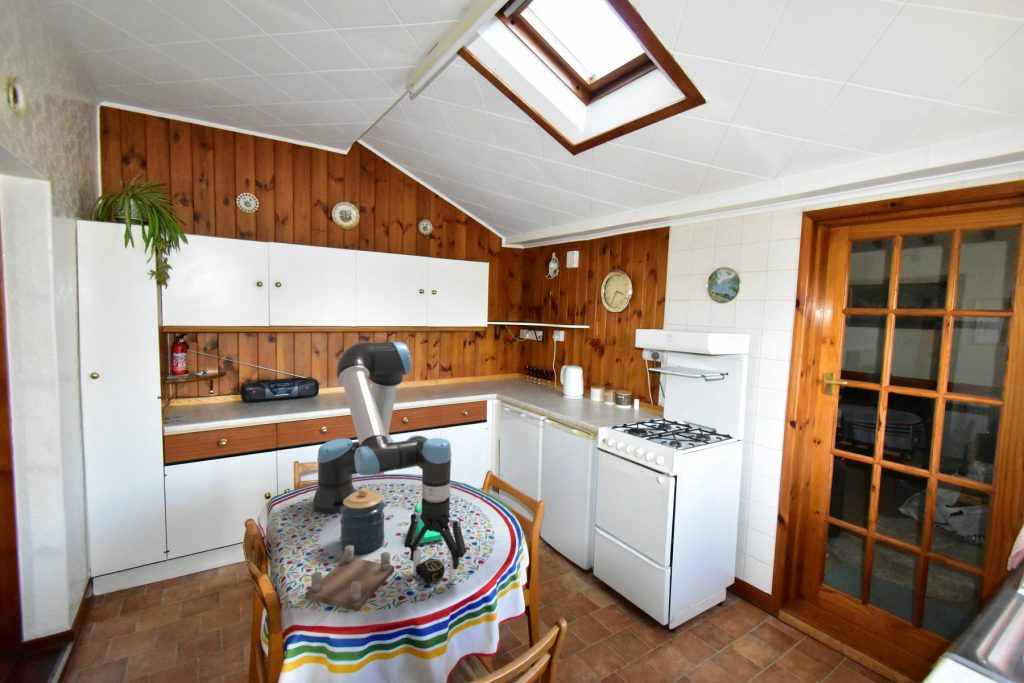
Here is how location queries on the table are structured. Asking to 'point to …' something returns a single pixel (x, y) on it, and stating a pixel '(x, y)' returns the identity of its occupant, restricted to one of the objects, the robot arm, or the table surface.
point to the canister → (362, 521)
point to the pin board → (350, 581)
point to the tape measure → (430, 570)
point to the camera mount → (429, 534)
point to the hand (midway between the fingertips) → (434, 575)
